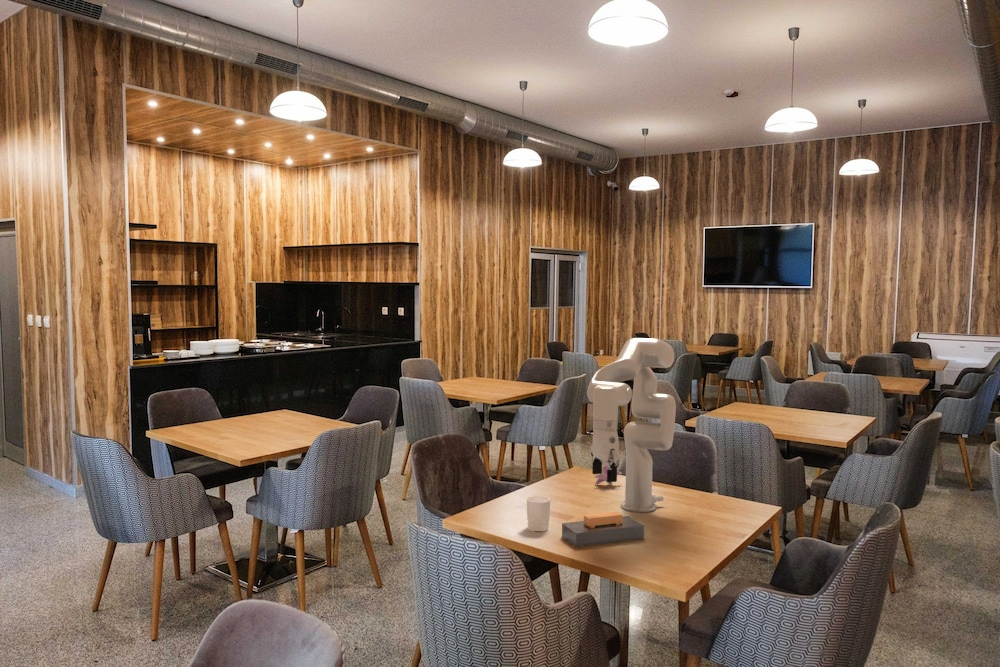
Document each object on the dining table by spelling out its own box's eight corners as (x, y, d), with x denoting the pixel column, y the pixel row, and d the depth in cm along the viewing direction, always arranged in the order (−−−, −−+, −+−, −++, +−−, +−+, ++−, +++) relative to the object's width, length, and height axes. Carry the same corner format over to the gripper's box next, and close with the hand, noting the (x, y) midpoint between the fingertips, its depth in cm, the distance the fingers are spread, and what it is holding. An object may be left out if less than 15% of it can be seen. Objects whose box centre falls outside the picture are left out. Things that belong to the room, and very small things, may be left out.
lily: (626, 487, 288) (619, 465, 292) (626, 483, 277) (619, 460, 281) (598, 496, 289) (591, 473, 293) (597, 492, 278) (590, 468, 282)
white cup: (533, 534, 228) (534, 503, 228) (521, 526, 235) (522, 497, 235) (554, 530, 232) (555, 500, 231) (542, 523, 239) (542, 494, 238)
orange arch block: (616, 534, 229) (616, 511, 228) (622, 537, 226) (622, 514, 225) (583, 538, 225) (583, 515, 224) (588, 542, 221) (589, 518, 221)
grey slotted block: (627, 529, 234) (628, 515, 234) (643, 539, 224) (644, 525, 224) (561, 537, 226) (562, 523, 225) (575, 547, 216) (576, 533, 216)
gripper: (629, 429, 216) (628, 483, 218) (602, 418, 232) (601, 469, 234) (607, 430, 214) (607, 486, 215) (581, 420, 230) (581, 471, 231)
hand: (604, 477), depth 224 cm, fingers open, 9 cm apart
